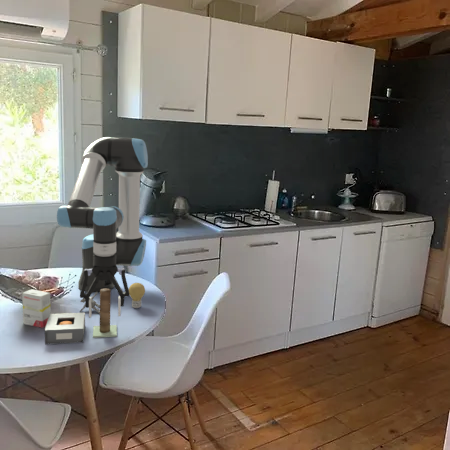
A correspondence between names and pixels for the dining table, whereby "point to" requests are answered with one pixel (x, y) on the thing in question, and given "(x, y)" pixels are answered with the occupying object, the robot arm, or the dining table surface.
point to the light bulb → (136, 294)
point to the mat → (109, 334)
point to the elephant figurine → (92, 304)
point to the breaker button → (65, 322)
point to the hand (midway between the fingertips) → (104, 315)
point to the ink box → (36, 308)
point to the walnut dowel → (105, 310)
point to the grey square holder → (65, 328)
